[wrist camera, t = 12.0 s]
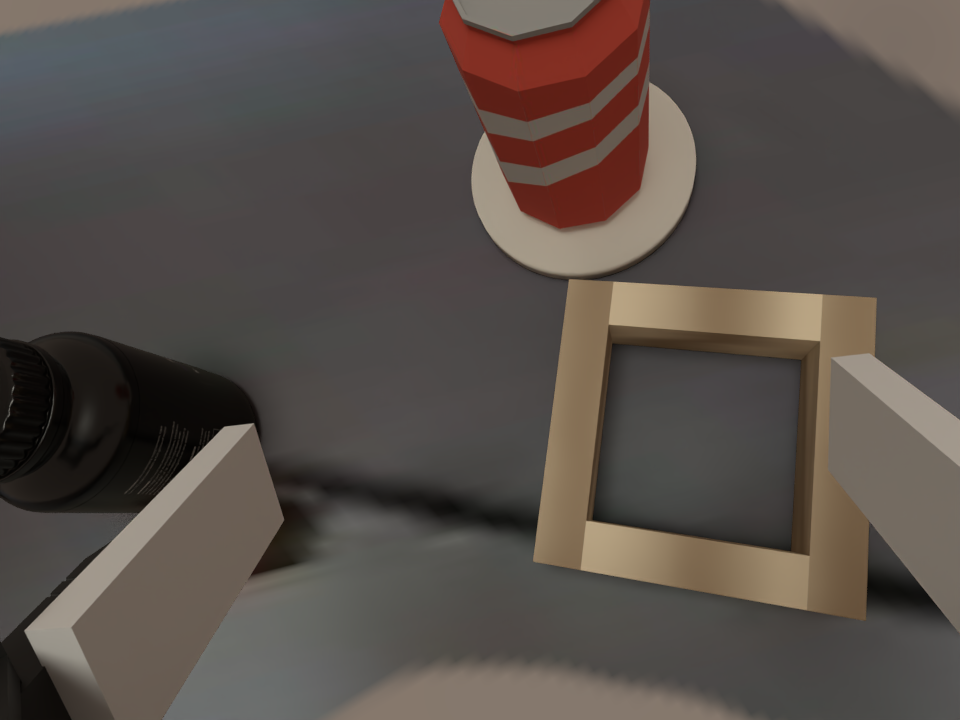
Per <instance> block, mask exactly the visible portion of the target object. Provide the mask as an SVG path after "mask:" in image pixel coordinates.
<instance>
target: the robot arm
mask: <svg viewBox="0 0 960 720" xmlns="http://www.w3.org/2000/svg"><path fill="white" fill-rule="evenodd" d="M828 470H829V472H830V473H831V474H832V475H833V477H834V478H835V479H836V480H837V482H838V483H839V484H840V485H841V487H842V488H843V489H844V490H845V492H846V493H847V494H848V495H849V496H850V498H851V499H852V500H853V501H854V503H855V504H856V505H857V506H858V508H859V509H860V510H861V511H862V513H863V514H864V515H865V516H866V518H867V519H868V520H869V521H870V523H871V524H872V525H873V526H874V528H875V529H876V530H877V531H878V533H879V534H880V535H881V536H882V538H883V539H884V540H885V541H886V542H887V544H888V545H889V546H890V547H891V549H892V550H893V551H894V552H895V554H896V555H897V556H898V557H899V559H900V560H901V561H902V562H903V564H904V565H905V566H906V567H907V569H908V570H909V571H910V572H911V574H912V575H913V576H914V577H915V579H916V580H917V581H918V582H919V584H920V585H921V586H922V587H923V589H924V590H925V591H926V592H927V593H928V595H929V596H930V597H931V598H932V600H933V601H934V602H935V603H936V605H937V606H938V607H939V608H940V610H941V611H942V612H943V613H944V615H945V616H946V617H947V618H948V620H949V621H950V622H951V623H952V625H953V626H954V627H955V628H956V630H957V631H958V632H959V633H960V420H959V419H957V418H956V417H955V416H953V415H952V414H951V413H949V412H948V411H947V410H945V409H944V408H943V407H941V406H940V405H939V404H937V403H936V402H934V401H933V400H932V399H930V398H929V397H928V396H926V395H925V394H924V393H922V392H921V391H920V390H918V389H917V388H916V387H914V386H913V385H911V384H910V383H909V382H907V381H906V380H905V379H903V378H902V377H901V376H899V375H898V374H897V373H895V372H894V371H892V370H891V369H890V368H888V367H887V366H886V365H884V364H883V363H882V362H880V361H879V360H878V359H876V358H875V357H874V356H872V355H871V354H869V353H867V354H858V355H849V356H840V357H832V358H831V376H830V413H829V450H828ZM283 521H284V518H283V515H282V512H281V509H280V505H279V502H278V499H277V496H276V492H275V489H274V486H273V483H272V480H271V476H270V473H269V470H268V467H267V463H266V460H265V457H264V454H263V450H262V447H261V444H260V441H259V438H258V434H257V431H256V428H255V425H254V423H252V424H244V425H235V426H226V427H224V428H223V429H222V430H221V431H220V432H219V433H218V434H217V435H216V436H215V437H214V438H213V439H212V440H211V441H210V442H209V443H208V444H207V445H206V446H205V447H204V448H203V449H202V450H201V451H200V452H199V453H198V454H197V455H196V456H195V457H194V458H193V459H192V460H191V461H190V462H189V463H188V464H187V465H186V466H185V467H184V468H183V469H182V470H181V471H180V472H179V473H178V474H177V475H176V476H175V478H174V479H173V480H172V481H171V482H170V483H169V484H168V485H167V486H166V487H165V488H164V489H163V490H162V491H161V492H160V493H159V494H158V495H157V496H156V497H155V498H154V499H153V500H152V501H151V502H150V503H149V504H148V505H147V506H146V507H145V508H144V509H143V510H142V511H141V512H140V513H139V514H138V515H137V516H136V517H135V518H134V519H133V520H132V521H131V522H130V523H129V524H128V525H127V526H126V527H125V529H124V530H123V531H122V532H121V533H120V534H119V535H118V536H117V537H116V538H115V539H114V540H113V541H111V542H110V543H108V544H107V545H105V546H104V547H102V548H101V549H99V550H98V551H96V552H95V553H93V554H92V555H90V556H89V557H87V558H86V559H85V560H84V561H83V562H82V563H81V564H80V565H79V566H78V567H77V568H76V569H75V570H74V571H73V572H72V573H71V574H70V575H69V576H68V577H67V578H66V579H67V580H66V581H63V582H62V583H61V584H60V585H59V586H58V587H57V588H56V589H55V590H54V591H53V592H52V593H51V597H47V598H46V599H45V600H44V601H43V602H42V603H41V604H40V605H39V606H38V607H37V608H36V609H35V610H34V611H33V612H32V613H31V614H30V615H29V616H28V617H27V618H26V619H25V620H24V621H23V622H22V623H21V624H20V625H19V626H18V627H17V628H16V629H15V630H14V631H13V632H12V633H11V634H10V635H9V636H8V637H7V638H6V639H5V640H4V641H3V642H2V643H1V642H0V720H162V718H163V717H164V715H165V713H166V712H167V710H168V709H169V707H170V705H171V704H172V702H173V700H174V699H175V697H176V696H177V694H178V692H179V691H180V689H181V687H182V686H183V684H184V682H185V681H186V679H187V678H188V676H189V674H190V673H191V671H192V669H193V668H194V666H195V665H196V663H197V661H198V660H199V658H200V656H201V655H202V653H203V651H204V650H205V648H206V647H207V645H208V643H209V642H210V640H211V638H212V637H213V635H214V634H215V632H216V630H217V629H218V627H219V625H220V624H221V622H222V621H223V619H224V617H225V616H226V614H227V612H228V611H229V609H230V607H231V606H232V604H233V603H234V601H235V599H236V598H237V596H238V594H239V593H240V591H241V590H242V588H243V586H244V585H245V583H246V581H247V580H248V578H249V576H250V575H251V573H252V572H253V570H254V568H255V567H256V565H257V563H258V562H259V560H260V559H261V557H262V555H263V554H264V552H265V550H266V549H267V547H268V546H269V544H270V542H271V541H272V539H273V537H274V536H275V534H276V532H277V531H278V529H279V528H280V526H281V524H282V523H283Z"/></svg>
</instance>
